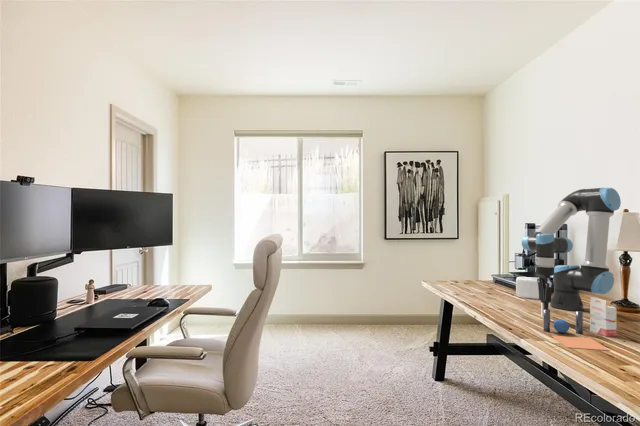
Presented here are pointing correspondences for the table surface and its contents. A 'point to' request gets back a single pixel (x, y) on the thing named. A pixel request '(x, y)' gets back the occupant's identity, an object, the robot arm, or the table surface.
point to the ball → (561, 326)
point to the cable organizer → (527, 287)
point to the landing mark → (580, 343)
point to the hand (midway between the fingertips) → (544, 316)
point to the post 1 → (546, 320)
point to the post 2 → (579, 322)
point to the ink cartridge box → (602, 318)
